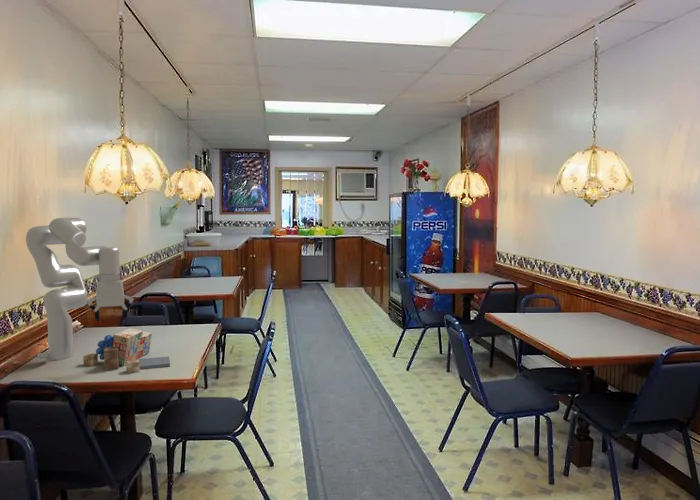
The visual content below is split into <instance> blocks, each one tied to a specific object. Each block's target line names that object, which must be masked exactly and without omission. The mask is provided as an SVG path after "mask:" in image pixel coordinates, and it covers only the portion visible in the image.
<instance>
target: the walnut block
mask: <svg viewBox="0 0 700 500" xmlns="http://www.w3.org/2000/svg"><path fill="white" fill-rule="evenodd" d="M103 364H104V371H115V370H119V367H120V365H119V349H118V347H108V348H105V349H104V363H103Z"/></svg>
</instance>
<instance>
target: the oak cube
mask: <svg viewBox="0 0 700 500" xmlns="http://www.w3.org/2000/svg"><path fill="white" fill-rule="evenodd" d="M82 357H83V358H82V359H83V360H82V362H83V366H84V367H93V366H95V365H97V364H99V360H98V359H99V354H97V353H87V354H85V355H83V356H82Z"/></svg>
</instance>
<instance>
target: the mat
mask: <svg viewBox="0 0 700 500" xmlns="http://www.w3.org/2000/svg"><path fill="white" fill-rule="evenodd" d="M138 361H139V364H140V370H146V369H147V370H148V369H156V368H166V367H167V368H168V367H169V368H170V367H171V360H170V356H169V355H168V356H160V357H158V356H157V357H145V358H138Z"/></svg>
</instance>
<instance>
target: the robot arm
mask: <svg viewBox="0 0 700 500" xmlns="http://www.w3.org/2000/svg"><path fill="white" fill-rule="evenodd" d="M86 233H87V224H86V222H85V221H84V220H83V219H82V218H80V217H56V218H54V219H52V220H51V221H50V223H49V225H37V226H33V227H31V228H29V229H28V230H27V232H26V236H25V243H26V247H27V249H28V251H29V253H30V255H31V257H32V258H33V260H34V262H35V266H36V269H37V271H38V275H39V277H40V281H41V283H42V285H43V287H46V288H51V289H52V288H55V289H52V290H49V291H48V292H46V293H45V295H44V296H43V303H44V308H45V312H46V321H47V340H48V341H47V343H48V346H47V347H48V351H47V352H40V353H37V356H36V357H37V359H38V358H39V359H45V360H44V363H45V364H48V363H50V362H52V361H63V360H68V359H72V358H73V357H74V335H73V334H74V333H73V329H74V327H73V319H72V317H71V315H70V314H69V312H68V311H69V310H73V309H80V308H82V307H84V306H86V305H87V306H89V308H90V309H91V310H92V311H93V312H94V319H95V320H96V322H97V323H99V322H100V310H99V309H100V308H110V307H111V308H112V307H121V308H122V320H124V321H125V320H126V318H128V309H129V308H130V307H131V306H132V304H133V302H134V301H135V298H134V297H131V296H130V295H127V294H125V292H124V291H125V289H124V284H123V281H122V280H121V273H120V272H121V270H120V269H121V268H120V267H121V266H120V251H119V250H120V249H119V248H118V247H116V246H115V247H114V246H106V245H105V246H104V245H99V246H84V245H85V243H86V241H87V235H86ZM53 245H54V246H56V245H65V253H66V255H67V257H68V259H70V260H71V261H72V262H74V263H75V264H76V265H78V266H81V267H82V266H83V267H86V266H87V267H88V266H98V269H99V270H98V271H99V273H98V275H95V280H99V281H97V282H96V283H97V284H96V293H95V294H96V296H94V297H92V298H90V299H88V291H87V289H86V285H85V283H84V280H83V276H82V274H81V272H80V269H78V267H77V266H76V265H73V264H60V263H59V260H58V257H57V255H56V253H55V252H54V250H52V249H51V248H50V247H48V246H53ZM125 299H126V300H128V301H129V302H128V303H126V304H125ZM95 301H96V306H95V305H94V304H93V302H95Z"/></svg>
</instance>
